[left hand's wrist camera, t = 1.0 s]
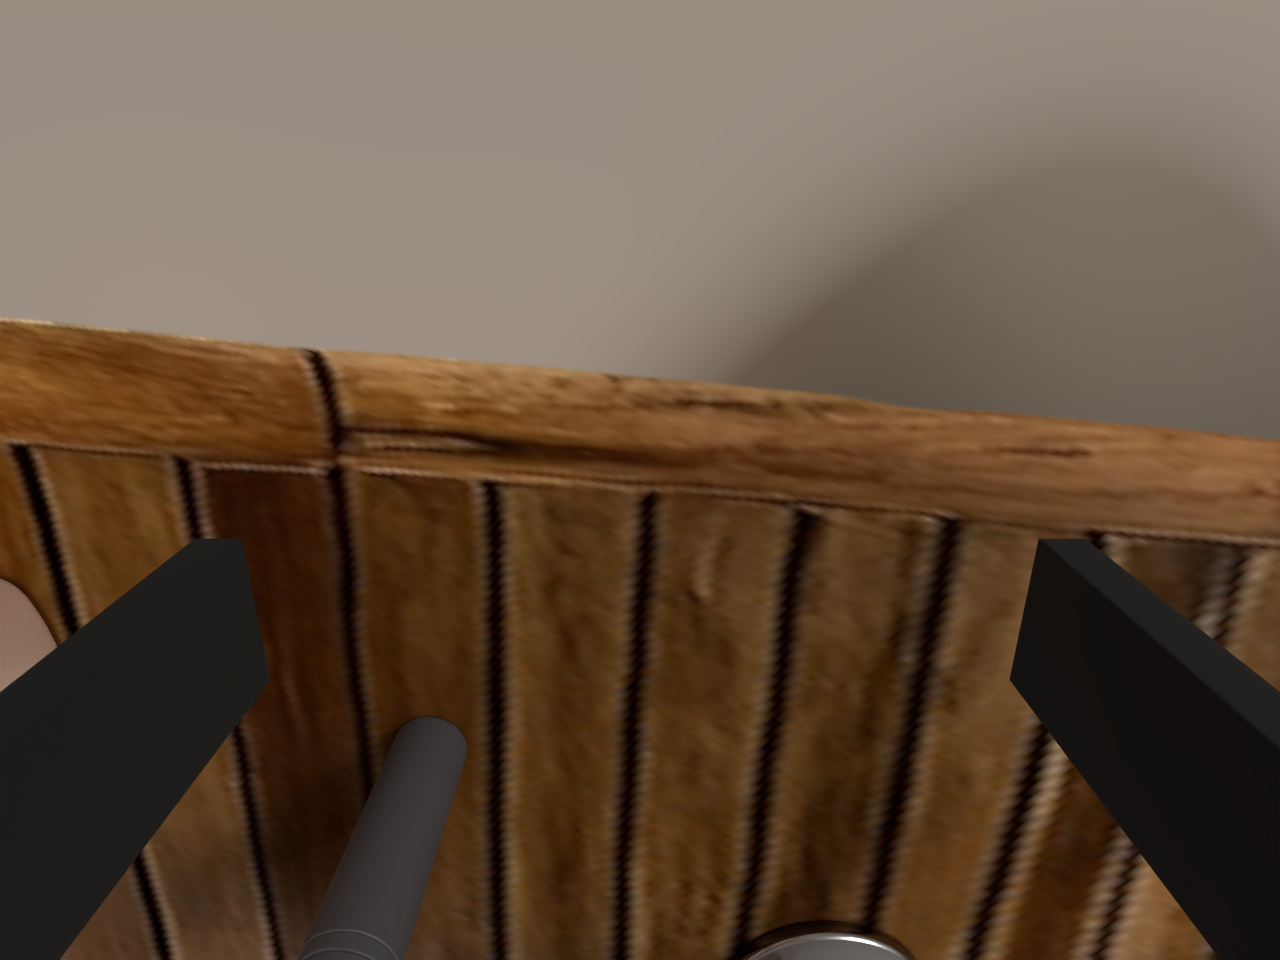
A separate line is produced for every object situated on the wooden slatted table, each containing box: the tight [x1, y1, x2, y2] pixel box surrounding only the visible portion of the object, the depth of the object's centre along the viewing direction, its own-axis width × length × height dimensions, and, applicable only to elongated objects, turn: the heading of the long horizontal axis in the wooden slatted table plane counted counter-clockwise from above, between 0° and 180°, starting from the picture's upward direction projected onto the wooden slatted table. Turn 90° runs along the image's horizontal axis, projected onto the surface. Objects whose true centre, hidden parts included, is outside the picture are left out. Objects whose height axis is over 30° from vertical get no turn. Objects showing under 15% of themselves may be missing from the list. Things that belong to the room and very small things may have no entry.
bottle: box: [298, 717, 467, 960], centre depth 39 cm, size 5×5×21 cm
